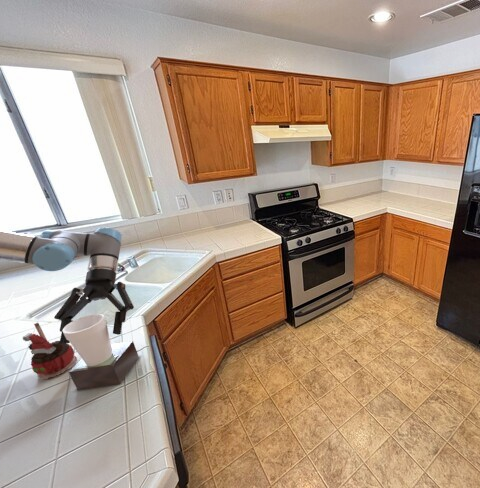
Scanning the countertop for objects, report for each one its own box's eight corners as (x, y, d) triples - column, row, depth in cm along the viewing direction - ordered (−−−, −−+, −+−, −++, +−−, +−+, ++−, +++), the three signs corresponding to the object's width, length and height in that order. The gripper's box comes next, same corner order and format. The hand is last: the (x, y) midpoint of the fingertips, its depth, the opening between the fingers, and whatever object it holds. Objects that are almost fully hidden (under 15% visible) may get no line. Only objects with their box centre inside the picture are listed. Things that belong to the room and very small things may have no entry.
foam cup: (85, 354, 83) (69, 319, 78) (120, 343, 86) (107, 310, 82) (74, 375, 75) (56, 337, 70) (114, 362, 78) (99, 326, 74)
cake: (86, 357, 92) (66, 313, 85) (61, 379, 83) (37, 332, 77) (56, 358, 92) (35, 315, 86) (28, 380, 83) (1, 334, 77)
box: (77, 390, 78) (68, 371, 76) (101, 362, 89) (93, 345, 86) (120, 383, 80) (112, 365, 77) (139, 357, 90) (132, 340, 88)
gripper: (149, 270, 93) (143, 332, 84) (67, 281, 88) (52, 347, 79) (138, 262, 86) (130, 328, 77) (48, 273, 81) (30, 345, 72)
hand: (91, 338), depth 78 cm, fingers open, 13 cm apart
